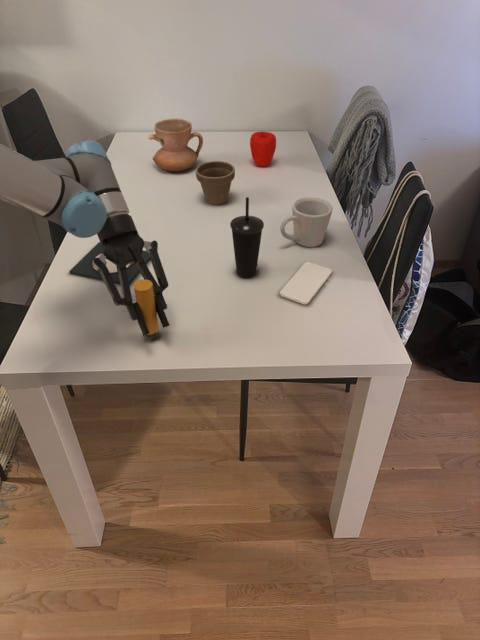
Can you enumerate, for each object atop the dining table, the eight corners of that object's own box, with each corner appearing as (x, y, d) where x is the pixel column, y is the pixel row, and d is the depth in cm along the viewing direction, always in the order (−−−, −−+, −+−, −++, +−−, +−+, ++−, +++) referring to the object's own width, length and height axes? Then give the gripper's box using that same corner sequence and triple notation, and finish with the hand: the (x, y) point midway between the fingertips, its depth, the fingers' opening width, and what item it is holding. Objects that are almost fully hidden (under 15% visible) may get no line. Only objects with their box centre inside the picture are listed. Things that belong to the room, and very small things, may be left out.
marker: (139, 338, 99) (130, 288, 90) (147, 327, 101) (138, 277, 93) (155, 342, 98) (147, 292, 89) (162, 330, 100) (155, 281, 92)
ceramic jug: (151, 177, 157) (146, 133, 148) (151, 159, 168) (146, 118, 159) (206, 174, 159) (204, 131, 150) (202, 156, 170) (200, 115, 161)
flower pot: (209, 213, 139) (207, 180, 133) (190, 197, 147) (188, 166, 140) (242, 203, 144) (242, 171, 137) (222, 188, 151) (222, 157, 145)
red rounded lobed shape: (272, 158, 169) (274, 127, 162) (277, 168, 163) (279, 137, 155) (247, 159, 168) (248, 128, 161) (251, 170, 162) (252, 138, 154)
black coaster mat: (69, 273, 117) (69, 270, 116) (99, 244, 127) (98, 241, 126) (128, 286, 113) (127, 283, 112) (154, 254, 123) (153, 251, 122)
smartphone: (278, 293, 110) (306, 261, 119) (278, 295, 110) (305, 263, 120) (307, 303, 107) (333, 269, 117) (306, 306, 107) (332, 272, 117)
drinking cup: (238, 285, 113) (238, 209, 100) (226, 268, 119) (224, 193, 105) (267, 277, 116) (270, 202, 102) (253, 260, 121) (255, 187, 108)
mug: (336, 243, 127) (341, 209, 121) (290, 259, 122) (293, 225, 115) (312, 226, 134) (316, 193, 127) (268, 240, 128) (269, 207, 122)
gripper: (147, 215, 101) (188, 318, 101) (69, 237, 94) (113, 347, 94) (155, 203, 94) (199, 313, 94) (71, 225, 87) (119, 344, 88)
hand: (156, 330), depth 94 cm, fingers closed on marker, 4 cm apart
